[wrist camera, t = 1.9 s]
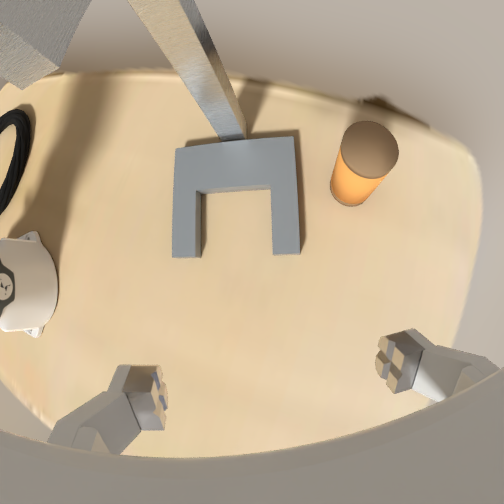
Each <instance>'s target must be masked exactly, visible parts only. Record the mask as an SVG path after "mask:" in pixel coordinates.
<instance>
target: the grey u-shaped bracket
mask: <svg viewBox="0 0 504 504" xmlns="http://www.w3.org/2000/svg"><path fill="white" fill-rule="evenodd" d="M265 189H271V210H272V242H273V255H300V237H299V214H298V195H297V178H296V163H295V149H294V136H290V137H274V138H260V139H249V140H238V141H229V142H220V143H212V144H204V145H197V146H190V147H183V148H177V149H176V151H175V167H174V187H173V219H172V257H173V258H201V194H210V193H222V192H235V191H249V190H265Z"/></svg>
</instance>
